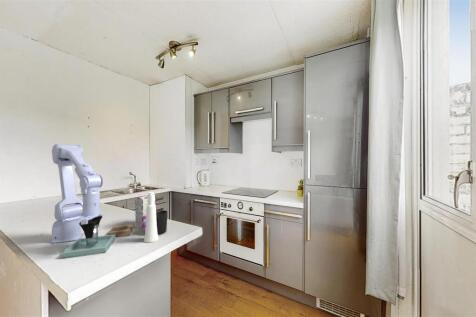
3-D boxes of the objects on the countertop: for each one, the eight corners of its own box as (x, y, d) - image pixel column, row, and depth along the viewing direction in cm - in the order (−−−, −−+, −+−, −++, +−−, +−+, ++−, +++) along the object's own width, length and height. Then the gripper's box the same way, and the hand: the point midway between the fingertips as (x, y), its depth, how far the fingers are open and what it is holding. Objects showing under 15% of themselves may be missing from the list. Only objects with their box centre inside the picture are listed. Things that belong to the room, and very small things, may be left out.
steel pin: (84, 246, 77) (84, 228, 77) (87, 242, 81) (87, 224, 81) (96, 244, 79) (96, 226, 79) (99, 240, 83) (99, 223, 83)
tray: (61, 258, 71) (61, 253, 71) (79, 242, 84) (79, 238, 84) (105, 252, 76) (105, 247, 76) (115, 238, 89) (115, 234, 89)
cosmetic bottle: (143, 243, 83) (143, 193, 83) (144, 238, 89) (144, 191, 89) (158, 241, 86) (158, 192, 86) (158, 236, 91) (158, 190, 91)
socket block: (107, 238, 89) (107, 233, 89) (113, 231, 98) (113, 226, 98) (129, 235, 92) (129, 230, 92) (133, 229, 100) (133, 224, 100)
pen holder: (160, 236, 91) (160, 215, 91) (143, 235, 93) (142, 214, 93) (170, 229, 100) (170, 210, 100) (155, 228, 102) (155, 209, 102)
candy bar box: (148, 221, 113) (148, 194, 112) (156, 222, 112) (155, 194, 111) (134, 228, 102) (134, 197, 102) (142, 229, 101) (142, 198, 101)
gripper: (96, 207, 74) (96, 241, 74) (108, 199, 88) (108, 228, 88) (74, 208, 72) (74, 244, 72) (89, 200, 86) (89, 230, 86)
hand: (91, 235), depth 80 cm, fingers closed on steel pin, 4 cm apart
